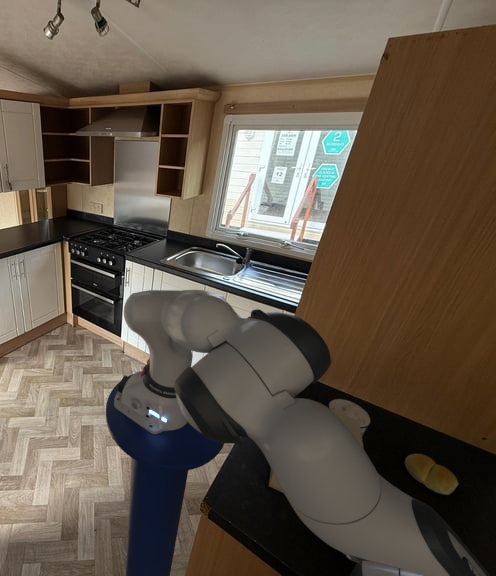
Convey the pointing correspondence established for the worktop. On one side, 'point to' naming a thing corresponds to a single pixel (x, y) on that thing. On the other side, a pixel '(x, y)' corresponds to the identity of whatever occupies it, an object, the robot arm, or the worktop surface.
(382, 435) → the worktop surface
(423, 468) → the bread roll
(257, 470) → the worktop surface
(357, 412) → the enamel mug with lid
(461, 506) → the worktop surface
